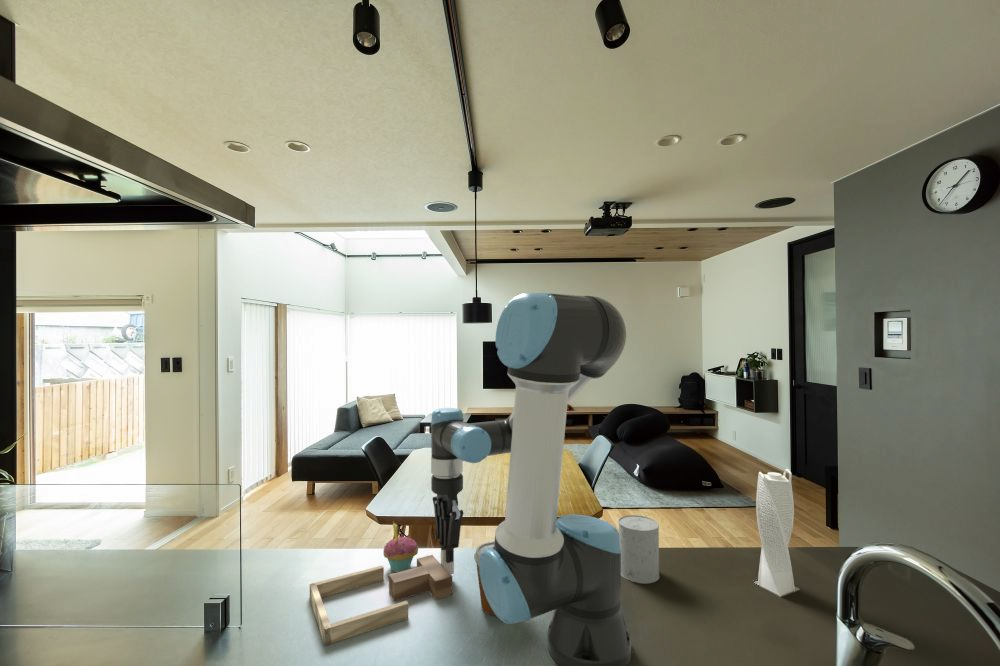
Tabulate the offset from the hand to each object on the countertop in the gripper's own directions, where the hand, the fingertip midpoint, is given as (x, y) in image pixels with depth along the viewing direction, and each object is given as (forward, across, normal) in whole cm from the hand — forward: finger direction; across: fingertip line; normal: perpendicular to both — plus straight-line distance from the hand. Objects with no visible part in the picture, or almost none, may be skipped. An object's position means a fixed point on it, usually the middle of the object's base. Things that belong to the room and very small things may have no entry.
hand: (447, 573), depth 107 cm
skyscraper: (+2, -41, -64) cm, 76 cm away
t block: (+2, 0, +8) cm, 8 cm away
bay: (+1, 0, +20) cm, 21 cm away
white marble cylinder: (+2, -21, -42) cm, 47 cm away
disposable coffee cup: (+2, -15, -5) cm, 16 cm away
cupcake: (+2, +12, +8) cm, 14 cm away
